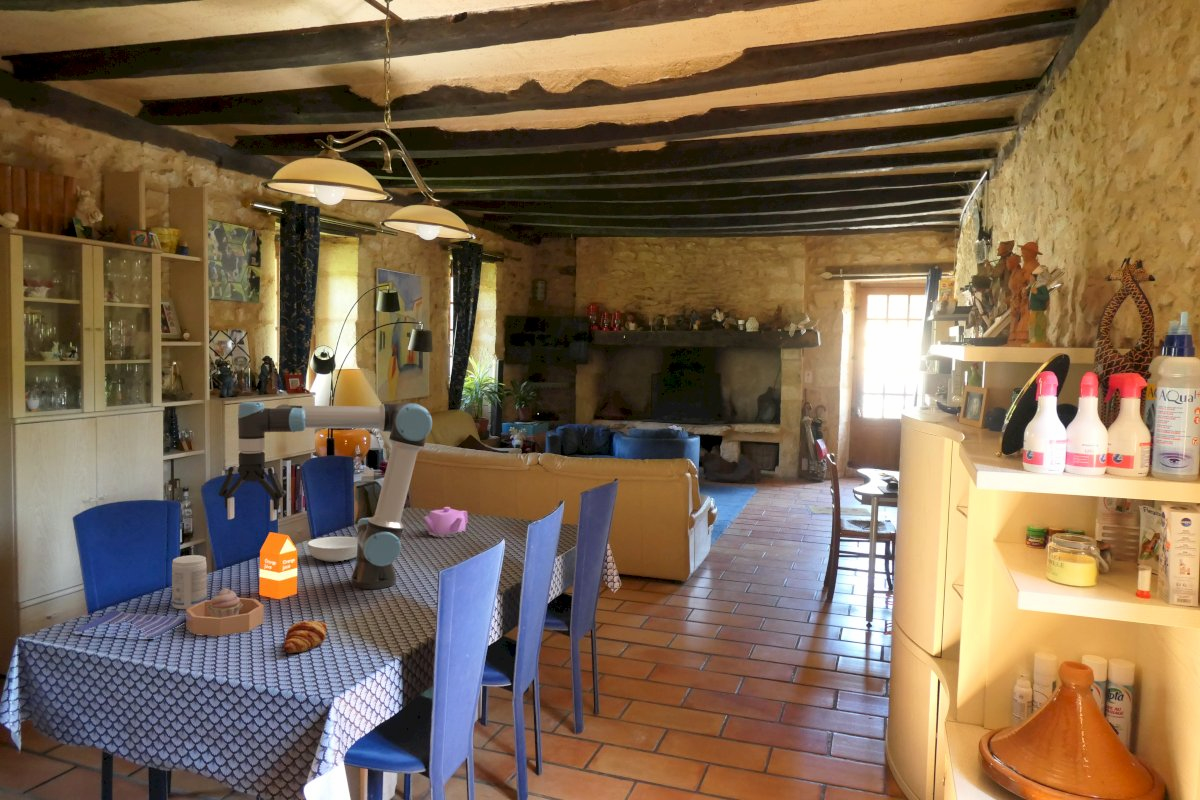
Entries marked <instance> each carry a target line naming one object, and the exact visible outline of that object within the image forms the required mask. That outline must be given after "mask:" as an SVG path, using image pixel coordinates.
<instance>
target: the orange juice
mask: <svg viewBox="0 0 1200 800" xmlns="http://www.w3.org/2000/svg"><path fill="white" fill-rule="evenodd" d="M297 586H298V549H297V548H296V546H295V544H294V543H293V541H292V539H291V538H290V536H289V535H287V534H282V533H278V532H270V531H269V532H268V535H267V537H266V538H265V541H264V543H263V544H262V546H261V549H260V550H259V595H260V596H263V597H268V598H272V599H276V600H280V599H283V598H287V597H290V596H294V595H297V594H298V587H297Z"/></svg>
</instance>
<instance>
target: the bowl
mask: <svg viewBox="0 0 1200 800" xmlns="http://www.w3.org/2000/svg"><path fill="white" fill-rule="evenodd" d="M238 598H239V599H240V602H241V604H243V605H242V607H241V609H240V610H239V614H238V615H234V616H228V617H222V618H217V617H211V613H210V611H209V609H208V607H207V606H210V604H212V603H211V601H212V599H210V600H209V599H207V601H202V602H200V603H198V604H196V605H194V606H192V607H190V608H188V609H185V616H186V623H185V627H186V628H187V630H188V629H189V630H190V631H191V632H192V633H194V634H202V635H201V636H204V635H215V636H214V637H217V636H220V637H222V636H221V635H226V636H229V635H228V634H232V635H235V634H234V633H237V634H242V633H248V632H251V631H252V630H254V629H255V628H257V627H259V626H260V625H262V624H263V623H264V610H265V609H264V608H265V605H264V604H262V603H261V602H260V601H258V600H257V599H256V598H249V597H248V598H246V597H238ZM189 630H188V631H189ZM190 631H189V632H190ZM191 632H190V633H191ZM241 632H242V633H241ZM192 633H191V634H192Z"/></svg>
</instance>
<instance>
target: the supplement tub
mask: <svg viewBox="0 0 1200 800" xmlns="http://www.w3.org/2000/svg"><path fill="white" fill-rule="evenodd" d="M207 569H208V568H207V558H206V556H205V555H199V554H198V555H196V554H192V555H191V554H190V555H183V556H177V557H176V558H173V559H172V564H171V594H172V596H171V598H172V599H171V600H172V601H171V602H172V603H171V604H172V607H173V608H174V609H177V610H186V609H188V608H190V607H192V606H194V605H196V604H198V603H200V602H202V601H208V599H207V598H208V596H207V595H208V594H207V593H208V591H207V590H208V588H207V587H208V586H207V584H208V583H207V581H208V580H207V576H208V575H207V572H208V570H207Z"/></svg>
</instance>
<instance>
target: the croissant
mask: <svg viewBox="0 0 1200 800" xmlns="http://www.w3.org/2000/svg"><path fill="white" fill-rule="evenodd" d="M327 629H328V624H327V623H326V622H322V621H320V620H318V621H316V620H304V621H303V620H302V621H299V622H296V623H294V624H292V625H291V626H290V627H289V628H288V630H287V632H286V635H285V640H284V642H283V645H282V647H283V650H284V652H286V653H288V654H293V653H295V654H297V653H304V652H306V651H308V650H311V649H314V648H316V647H318V646H319V645H321V644H322V643H323V642H324V641H325V640H326V637H327V634H326V633H327Z"/></svg>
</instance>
